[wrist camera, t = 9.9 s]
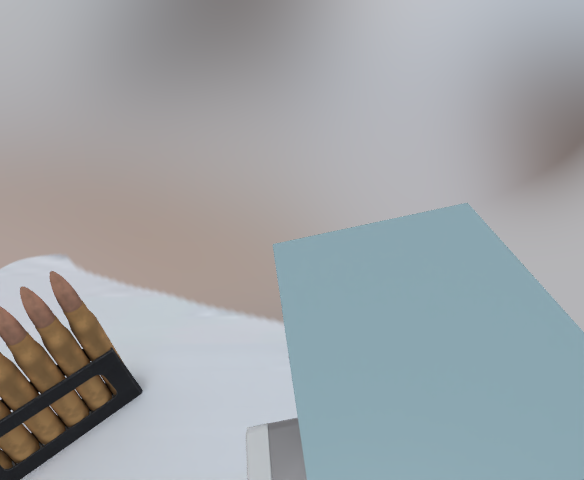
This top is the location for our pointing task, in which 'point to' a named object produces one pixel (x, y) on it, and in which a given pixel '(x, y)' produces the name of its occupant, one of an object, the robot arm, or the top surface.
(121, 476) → the top surface
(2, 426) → the ammunition clip
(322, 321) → the block
